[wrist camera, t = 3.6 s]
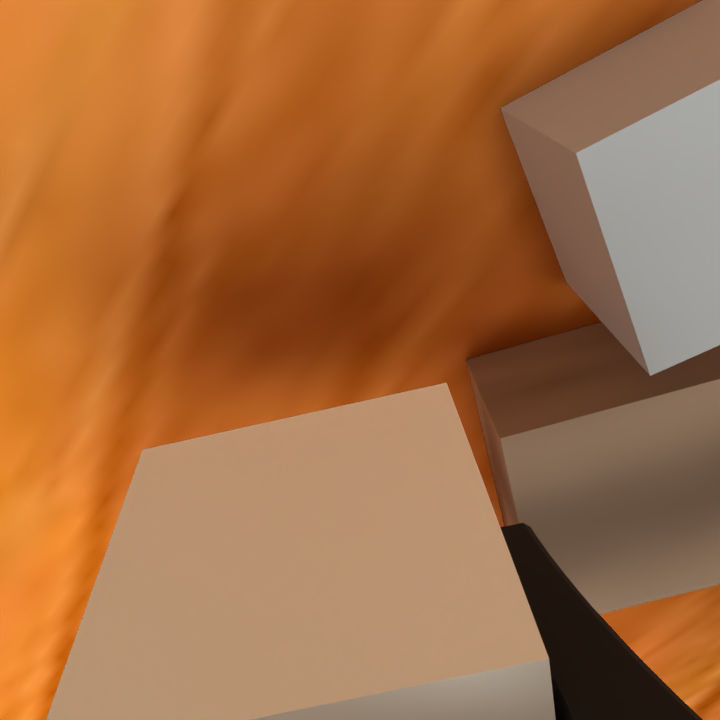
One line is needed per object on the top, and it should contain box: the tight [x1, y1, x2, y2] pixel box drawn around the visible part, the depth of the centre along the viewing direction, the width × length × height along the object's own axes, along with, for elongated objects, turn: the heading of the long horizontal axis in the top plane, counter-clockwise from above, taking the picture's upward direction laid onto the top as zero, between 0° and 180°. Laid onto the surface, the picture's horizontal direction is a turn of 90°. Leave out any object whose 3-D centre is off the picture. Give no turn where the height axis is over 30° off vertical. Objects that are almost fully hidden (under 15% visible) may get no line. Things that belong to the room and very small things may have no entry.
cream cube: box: [46, 383, 556, 720], centre depth 10 cm, size 5×5×5 cm
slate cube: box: [500, 0, 720, 376], centre depth 14 cm, size 5×5×5 cm
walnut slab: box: [466, 322, 720, 615], centre depth 19 cm, size 7×7×4 cm
